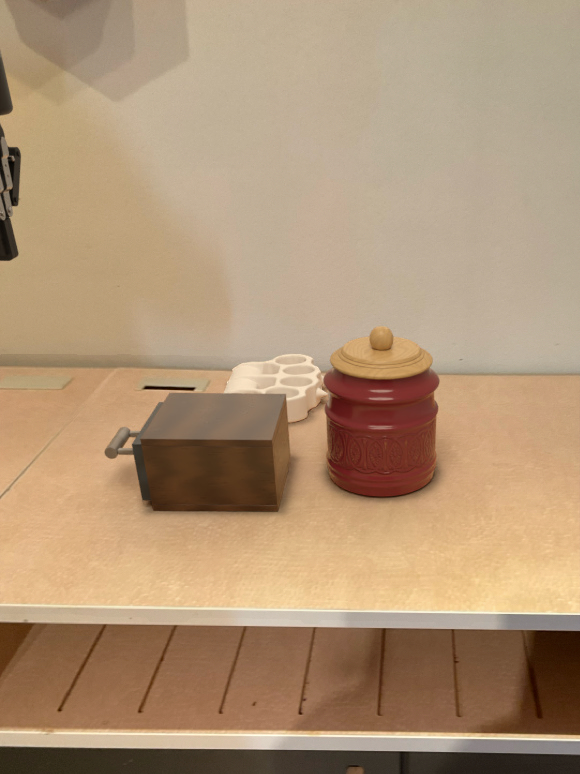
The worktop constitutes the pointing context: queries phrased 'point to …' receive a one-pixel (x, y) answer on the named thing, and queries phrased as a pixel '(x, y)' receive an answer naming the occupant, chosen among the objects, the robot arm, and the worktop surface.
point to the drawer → (133, 451)
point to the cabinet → (217, 452)
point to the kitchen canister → (381, 415)
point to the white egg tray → (281, 382)
